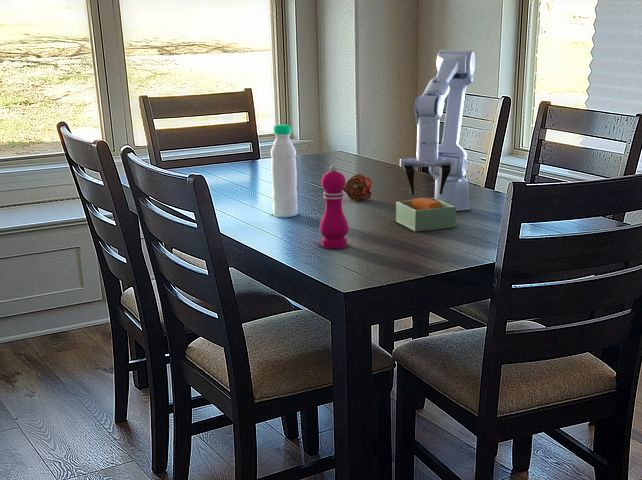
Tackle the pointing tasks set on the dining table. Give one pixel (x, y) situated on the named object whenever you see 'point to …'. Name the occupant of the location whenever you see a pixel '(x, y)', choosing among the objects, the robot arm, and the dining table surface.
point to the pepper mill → (333, 210)
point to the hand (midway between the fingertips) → (426, 193)
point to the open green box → (426, 216)
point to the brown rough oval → (358, 187)
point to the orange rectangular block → (424, 204)
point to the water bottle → (284, 173)
